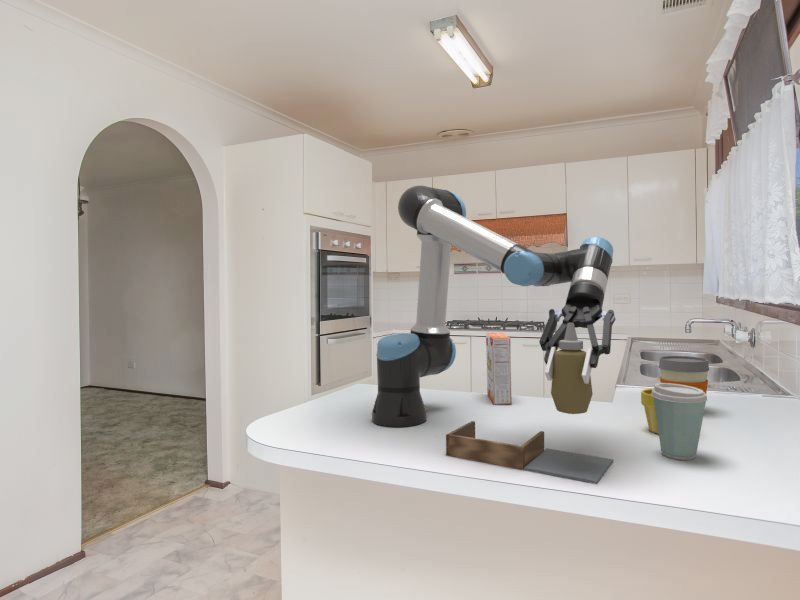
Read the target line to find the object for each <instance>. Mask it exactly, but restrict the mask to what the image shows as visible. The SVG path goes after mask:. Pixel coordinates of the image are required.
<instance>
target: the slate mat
mask: <svg viewBox="0 0 800 600" xmlns="http://www.w3.org/2000/svg"><path fill="white" fill-rule="evenodd" d="M613 463H614V459H613V458H608V457H607V458H606V457H601V456H596V455H595V456H594V455H590V454H589V455H588V454H584V453H583V454H582V453H576V452H572V451H564V450H559V449H552V448H544V451H543V452H542V453H541V454H540V455H538V456H537V457H536V458H535V459H534V460H532V461H531V462H530V463H529V464H528V465H527V466H525V467H524V470H523V471H527V470H528V472H532V471H533V472H532V473H537V472H538V473H539V474H542V475H543V474H544V475H547V474H548V475H549V476H554V477H558V478H563V479H568V480H569V479H570V480H574V481H579V482H583V483H589V482H591V483H590V484H594V483H596V484H595V485H598V484H599V482H600V480H601V479H602V478H601V477H603V476H604V475H605V474H606V472H607V471H608V470H609V469H610V467H611V465H612V464H613ZM607 469H608V470H607ZM604 473H605V474H604ZM598 481H599V482H598Z"/></svg>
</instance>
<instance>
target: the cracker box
mask: <svg viewBox="0 0 800 600" xmlns="http://www.w3.org/2000/svg"><path fill="white" fill-rule="evenodd" d="M485 343H486V345H485V346H486V347H485V348H486V351H485V352H486V385H487V386H486V387H487V393H486V394H487V396H488V397H489V398H490V401H491V402H492V404H493V405H494V404H502V405H512V399H513V398H512V365H511V364H512V363H511V361H512V360H511V358H512V357H511V355H512V354H511V353H512V351H511V349H512V348H511V337H509V336H508V335H506V334H504V333H503V332H488V333H487V332H486V333H485Z"/></svg>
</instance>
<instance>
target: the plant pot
mask: <svg viewBox="0 0 800 600" xmlns="http://www.w3.org/2000/svg"><path fill="white" fill-rule="evenodd" d="M652 389H653V388H645V389H644V388H643V389H642V390H641V391H640V403H641V405H642V406H643V408H644V413H645V418H646V421H647V426H648V427H647V428H648V431H650V432H651V433H654V434H657V435H659V433H658V426H657V419H656V412H655V405H654V398H653V396H651V393H652Z"/></svg>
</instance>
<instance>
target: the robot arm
mask: <svg viewBox="0 0 800 600" xmlns="http://www.w3.org/2000/svg"><path fill="white" fill-rule="evenodd" d="M397 208H398V209H397V211H398V215H399V218H400V219H401V221H403V223H404V225H405V224H406V226H409V227H410V228H412V229H414V230H416V236H417V238H418V239H419V240H420V242H421V245H420V247H421V248H420V258H419V259H420V260H419V261H420V262H419V276H418V278H419V279H418V288H417V289H418V293H417V307H416V322H415V324H414V325H413V326H411V327H410V333H405V332H403V333H397V334H390V335H386V336H384V337H382V338H380V339H379V340H378V342H377V344H376V345H377V348H376V353H375V354H376V370H377V372H376V373H377V374H376V375H377V394H376V398H375V401H374V405H373V409H372V411H371V421H372V423H374V424H376V425H379V426H383V427H393V428H401V427H412V426H417V425H421V424H423V423H425V422H427V420H428V419H427V418H428V417H427V416H428V415H427V410H426V406H425V404H424V399H423V397H422V394H421V391H420V390H421V389H420V388H421V385H420V383H421V382H420V380H421V378H423V377H428V376H435V375H439V374H440V373H442V372H445V371H447V370H448V369H450V368H451V366H452V365H453V363H454V362H455V359H456V355H457V350H456V345H455V343H454V342H453V341H454V340H453V339H452V338H451V331H450V329H449V328H448V327H447V326H446V322H447V321H446V320H447V305H448V294H449V293H448V291H449V278H450V277H449V276H450V265H451V252H452V251H451V249H452V246H453V247H455V248H457V249H459V250H460V251H462V252H463V253H464V252H465V253H466V254H468V255H469V256H471V257H473V258H475V259H476V260H479V261H481V262H482V263H484V264H486V265H487V266H490V267H491V268H493V269H495V270H497V271H499V272H501V273H502V274H504V276H505V277H506V278H507V280H508V282H510V283H512V284H513V285H516V286H521V287H529V286H533V287H550V286H552V285H560V284H566V283H570V285H569V290H568V293H567V297H566V300H565V305H564V307H562V309H560V310H555V309H553V308H551V309H549V310H548V318H547V322H546V323H545V327H544V329H543V332H542V333H541V337H540V339H539V342H538V343H539V345H540V348H541V350H542V351H543V352H545V354H544V358H543V360H544V363H545V365H546V367H545V370H544V374H545V376H546V379H547V381H551V382H552V377H553V364H554V354H555V353H556V352H557V351H558V349H559V341H560V340H564V338H565V333H566V328H567V324H568V323H574V326H575V329H577V328H582V329H583V328H584V329H587V332H588V337H589V341H590V346H591V348H587V349H586V358H585V362H584V367H583V371H582V378H583V381H584V383H586V384H588V383H589V378H590V376H591V373H592V369H596V368H598V364H599V359H600V356H601V355H603V354H604V355H609V354H610V353H611V345H612V331H613V330H612V329H613V328H612V327H613V325H614V323H615V321H616V317H615V311H614V310H613V309H608V310H607V311H605V310H603V304H604V301H605V295H606V290H607V286H608V280H609V274H610V271H611V267H612V264H613V261H614V259H613V255H614V247H613V245H612V244H611V242H610V241H609V240H608V239H606V238H604V237H601V236H591V237H587V238H586V239H584V241H582V243H581V244H580V247H579V248H576V249H571V250H568V251H567V250H566V251H561V252H560V251H559V252H555V253H553V252H552V253H551V252H549V253H548V252H536V251H533V250H531V249H528V248H527V247H524V246H523V245H520V244H519V243H517V242H515V241H513V240H511V239H509V238H507V237H505V236H503V235H501V234H498V233H497V232H495V231H494V230H491V229H489V228H488V227H485V226H483V225H481V224H479V223H478V222H475V221H473V220H471V219H470V218H468V217H467V209H466V205H465V202H464V200H463V199H462V198H461V197H460V196H459V195H458V194H457V193H455V192H453V191H450V190H447V189H441V188H436V187H430V186H427V185H414V186H412V187H409V188H407V189H406V190H405V191H404V192H403V193H402V194H401V196H400V197H399V200H398V206H397ZM562 317H563V319H562V323H561V324H560V326H559V327H558V323H559V322H560V320H561V318H562ZM601 318H602V321H603V322H602V323H603V325H602V339H601V344H599V343H598V339H597V334H596V329H595V326H594V324H595V323H596V322H598V321H599V320H600V319H601ZM557 327H558V328H557Z"/></svg>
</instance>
